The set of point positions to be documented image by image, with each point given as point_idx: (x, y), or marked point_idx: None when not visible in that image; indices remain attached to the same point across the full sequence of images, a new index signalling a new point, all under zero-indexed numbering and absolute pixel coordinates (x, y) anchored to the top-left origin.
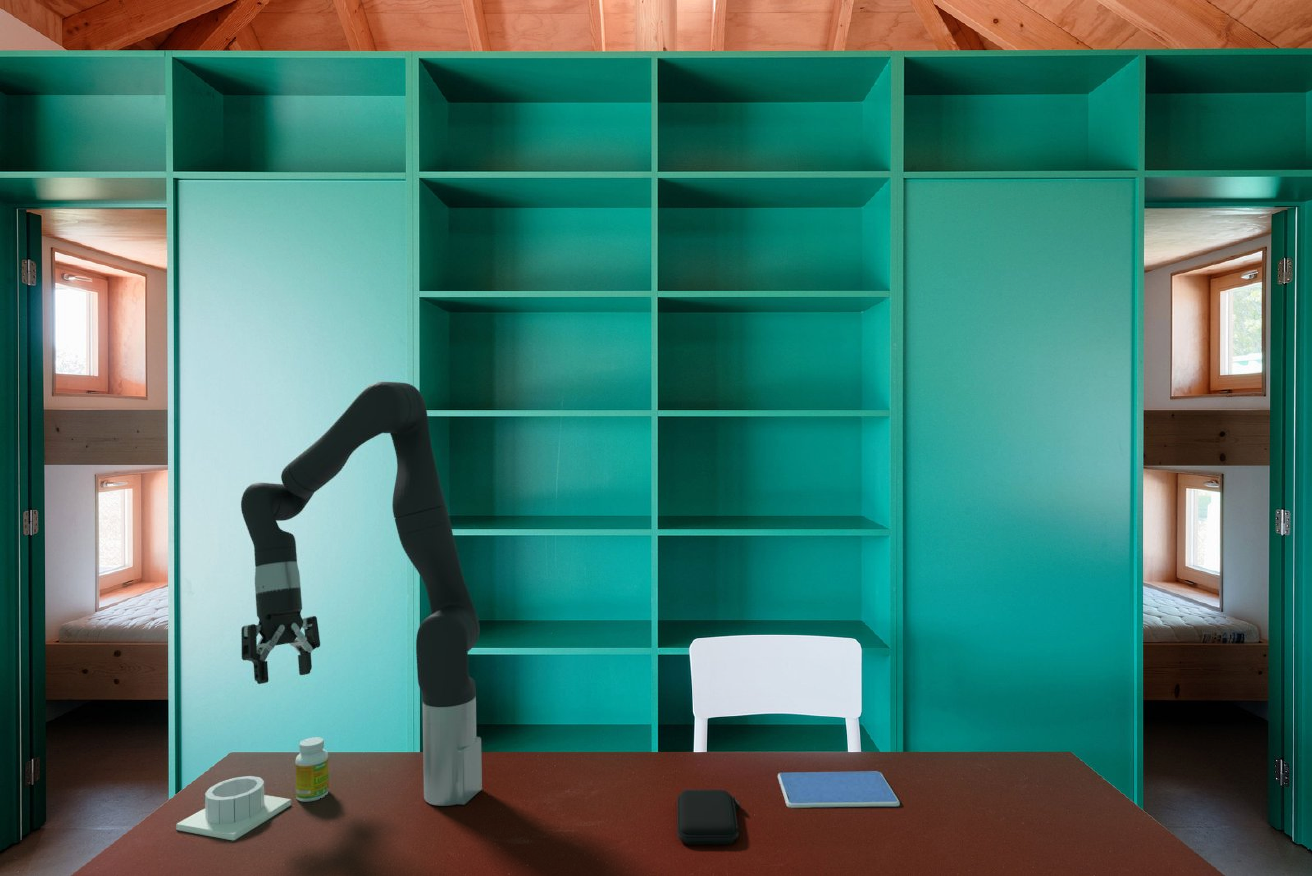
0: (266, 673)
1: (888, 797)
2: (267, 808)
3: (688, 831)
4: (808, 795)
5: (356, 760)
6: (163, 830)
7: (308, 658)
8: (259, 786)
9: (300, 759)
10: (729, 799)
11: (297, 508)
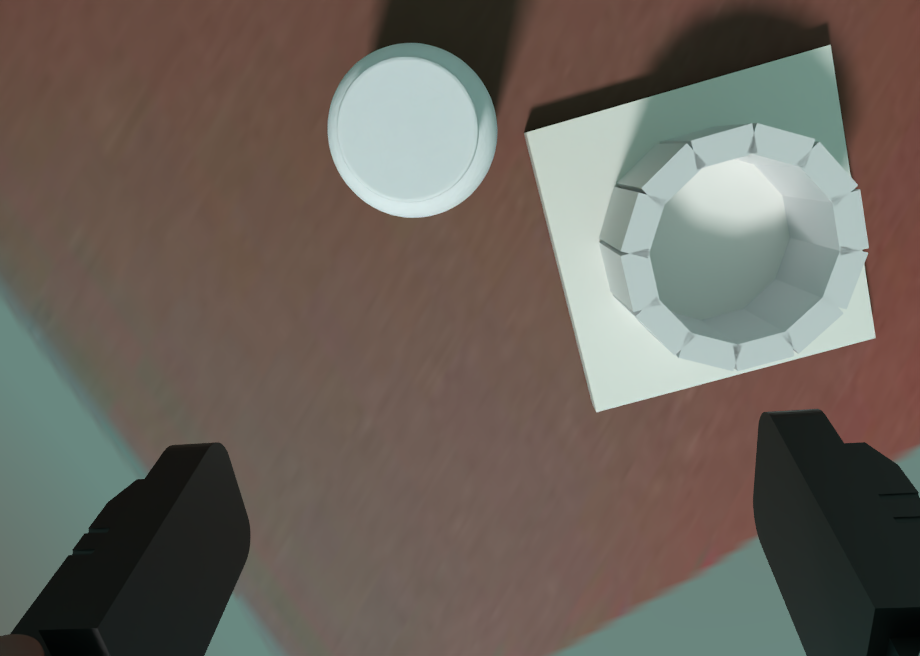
0: (826, 467)
1: None
2: (627, 142)
3: None
4: None
5: (107, 285)
6: (883, 371)
7: (95, 568)
8: (682, 159)
9: (488, 121)
10: None
11: None
